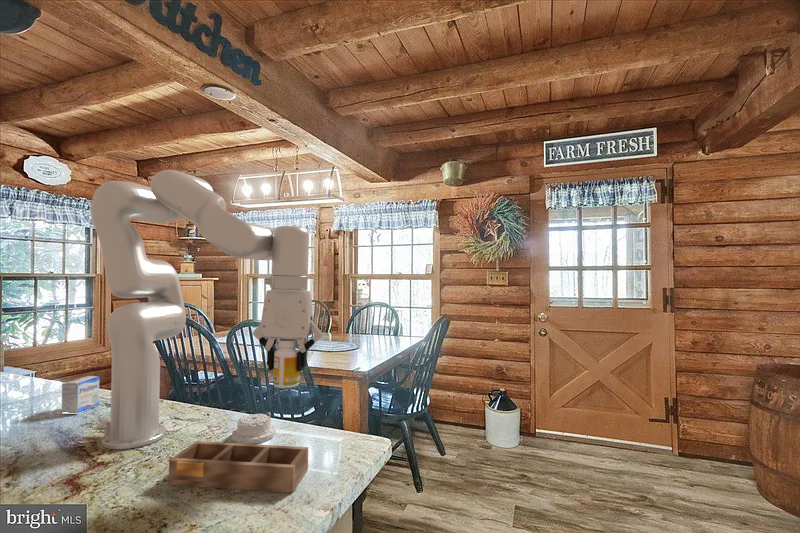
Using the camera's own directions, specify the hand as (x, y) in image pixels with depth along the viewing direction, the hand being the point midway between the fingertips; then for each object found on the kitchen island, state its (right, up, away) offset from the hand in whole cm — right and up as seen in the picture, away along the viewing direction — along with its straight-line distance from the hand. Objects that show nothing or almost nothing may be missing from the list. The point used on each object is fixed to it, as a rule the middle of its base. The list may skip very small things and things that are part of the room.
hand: (286, 368), depth 86 cm
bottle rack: (-6, -19, -9) cm, 22 cm away
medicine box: (-65, -19, +27) cm, 73 cm away
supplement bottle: (0, -4, 0) cm, 4 cm away
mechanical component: (-11, -19, +11) cm, 25 cm away
